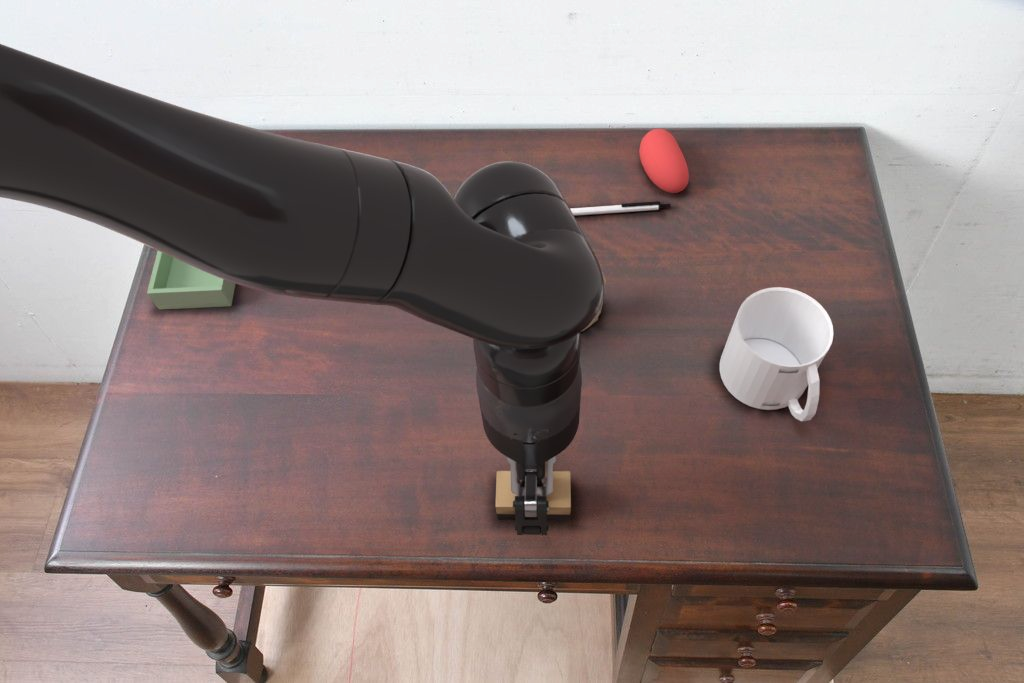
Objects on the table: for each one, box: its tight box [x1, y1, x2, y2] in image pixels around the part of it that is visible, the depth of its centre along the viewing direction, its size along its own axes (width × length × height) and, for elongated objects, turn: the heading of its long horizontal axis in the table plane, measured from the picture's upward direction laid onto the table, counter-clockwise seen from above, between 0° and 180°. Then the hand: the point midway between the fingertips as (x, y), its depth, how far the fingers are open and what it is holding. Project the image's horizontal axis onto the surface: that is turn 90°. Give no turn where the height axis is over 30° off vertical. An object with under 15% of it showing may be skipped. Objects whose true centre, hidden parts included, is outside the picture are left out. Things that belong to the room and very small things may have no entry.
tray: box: [146, 250, 237, 311], centre depth 94 cm, size 15×8×3 cm, turn 2°
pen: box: [569, 201, 672, 217], centre depth 96 cm, size 1×19×1 cm, turn 93°
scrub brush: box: [495, 461, 572, 521], centre depth 74 cm, size 7×4×10 cm, turn 89°
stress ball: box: [638, 128, 690, 194], centre depth 98 cm, size 5×9×6 cm, turn 2°
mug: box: [719, 286, 834, 422], centre depth 79 cm, size 12×9×9 cm
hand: (533, 475), depth 72 cm, fingers open, 8 cm apart
